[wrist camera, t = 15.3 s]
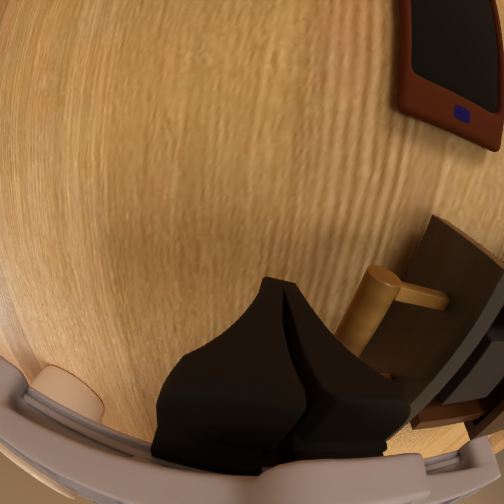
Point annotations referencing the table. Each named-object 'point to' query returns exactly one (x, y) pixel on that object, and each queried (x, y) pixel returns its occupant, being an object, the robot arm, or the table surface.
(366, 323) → the drawer
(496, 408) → the cabinet
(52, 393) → the candle holder
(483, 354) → the block
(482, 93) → the smartphone
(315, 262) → the table surface
